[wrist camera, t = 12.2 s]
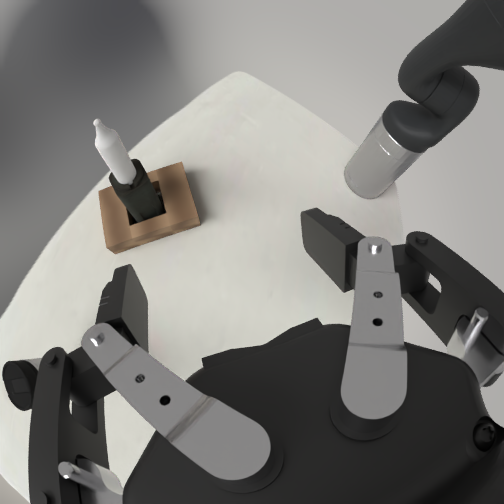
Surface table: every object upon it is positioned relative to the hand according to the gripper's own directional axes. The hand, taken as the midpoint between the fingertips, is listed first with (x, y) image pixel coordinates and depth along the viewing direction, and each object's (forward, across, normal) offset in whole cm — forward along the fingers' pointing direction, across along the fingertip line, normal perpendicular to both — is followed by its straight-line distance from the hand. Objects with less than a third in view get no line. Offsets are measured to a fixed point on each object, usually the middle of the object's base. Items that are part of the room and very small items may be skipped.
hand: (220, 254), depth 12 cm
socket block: (+37, +8, +9) cm, 39 cm away
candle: (+37, +8, +9) cm, 39 cm away
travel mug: (+20, +28, +26) cm, 43 cm away
